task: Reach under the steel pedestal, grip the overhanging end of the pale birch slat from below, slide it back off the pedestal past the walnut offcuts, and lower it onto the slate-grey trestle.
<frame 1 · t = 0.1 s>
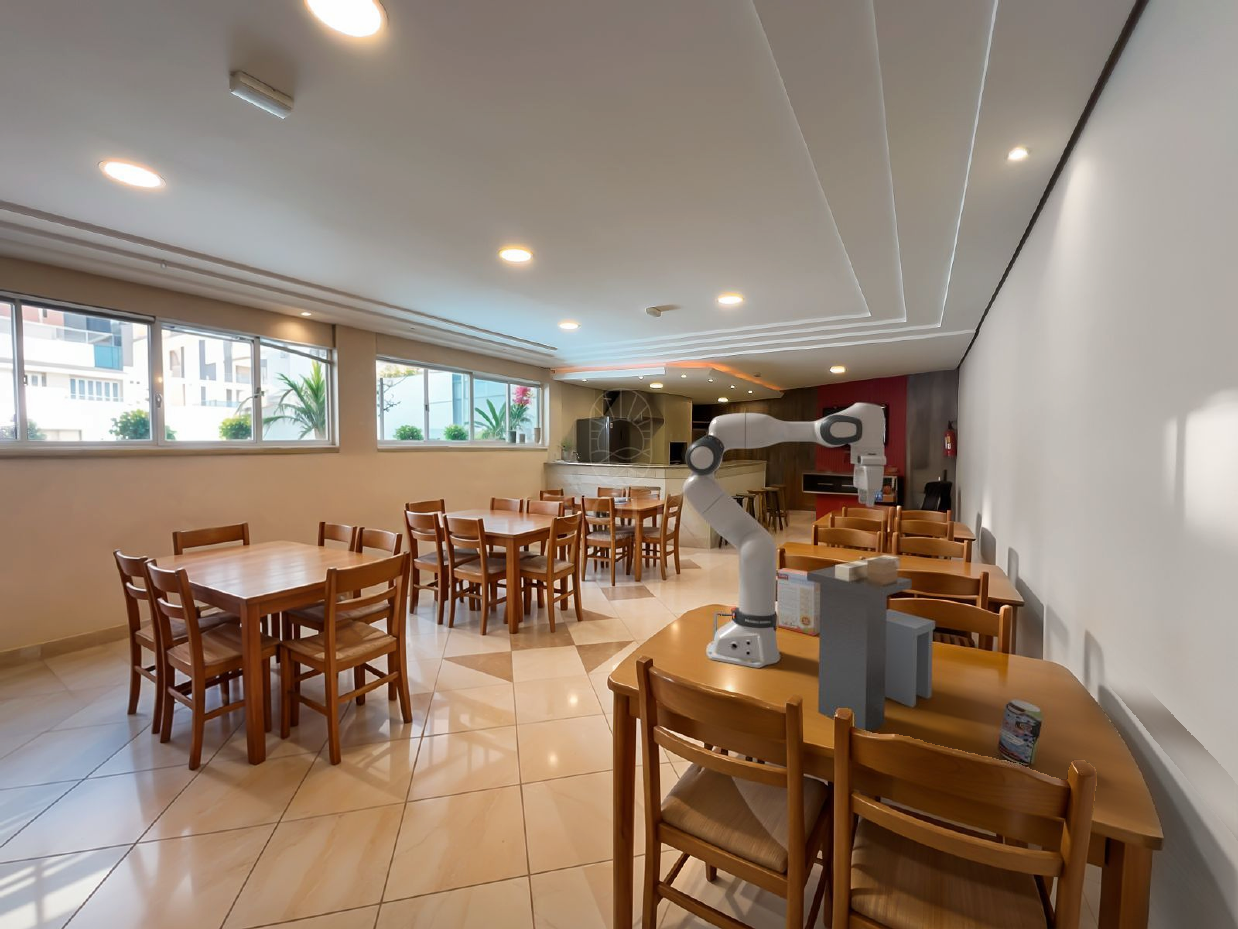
hand: (866, 505, 151), 48 cm above the table, tool pointing down, fingers open, 8 cm apart
beverage can: (1018, 761, 107), on the table
slate trestle: (899, 693, 136), on the table
clipboard: (740, 629, 185), on the table
cracker box: (798, 630, 183), on the table
steel pedestal: (855, 715, 124), on the table
birch slat: (868, 573, 126), point 34 cm above the table, touching steel pedestal
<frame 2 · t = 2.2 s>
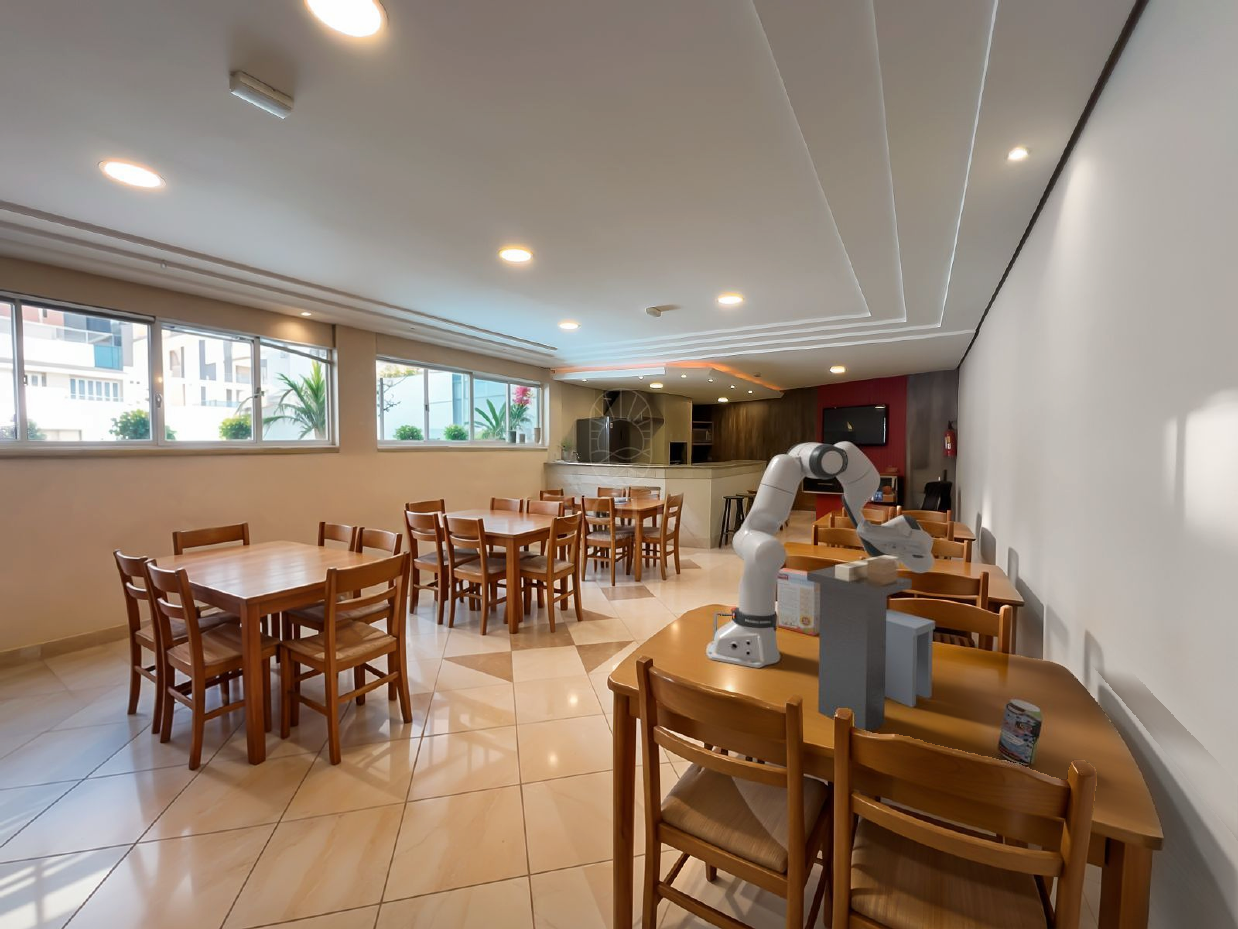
hand: (880, 524, 150), 42 cm above the table, tool pointing upward, fingers open, 8 cm apart
nothing on the table moved.
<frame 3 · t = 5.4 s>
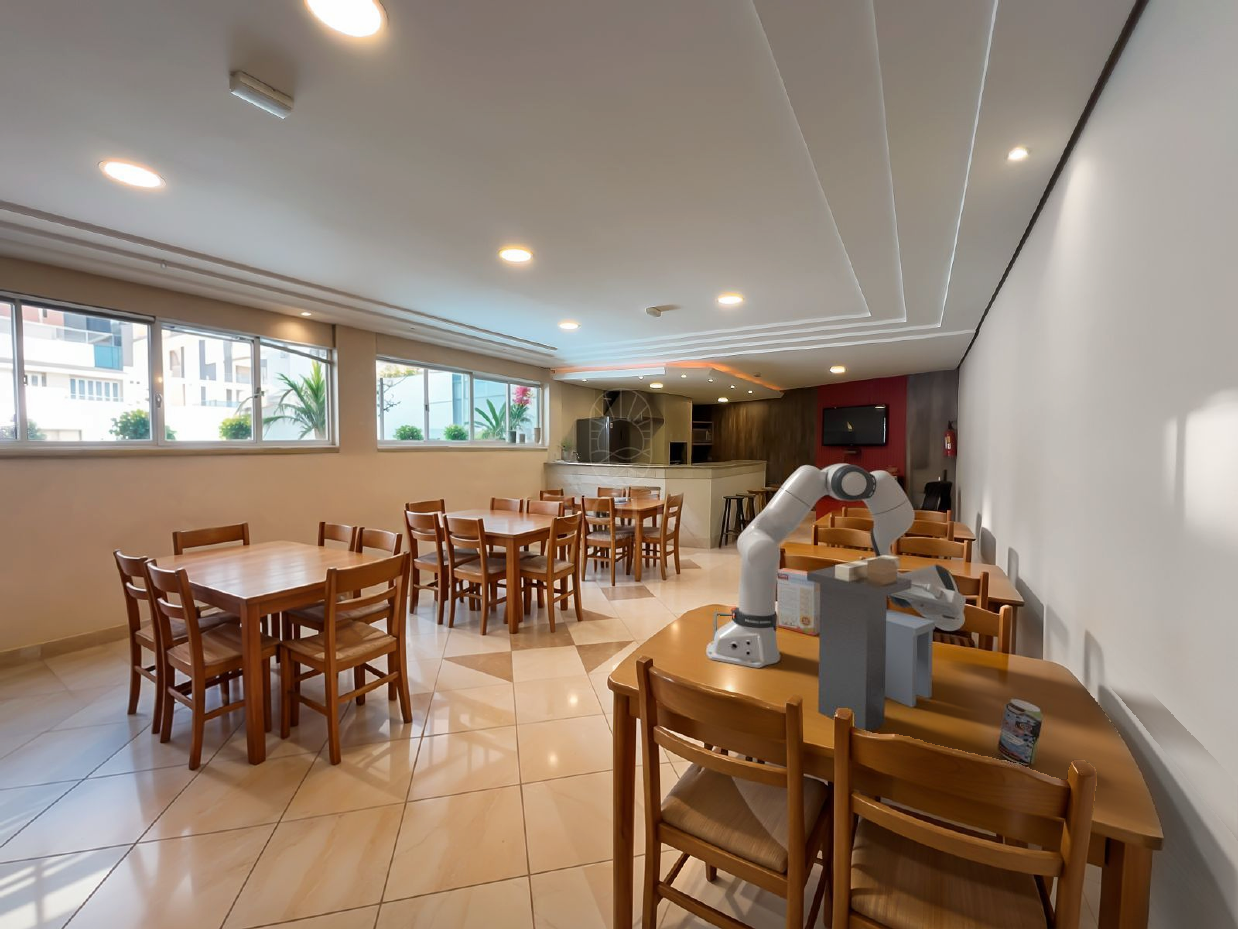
hand: (907, 582, 136), 29 cm above the table, tool pointing upward, fingers open, 8 cm apart
nothing on the table moved.
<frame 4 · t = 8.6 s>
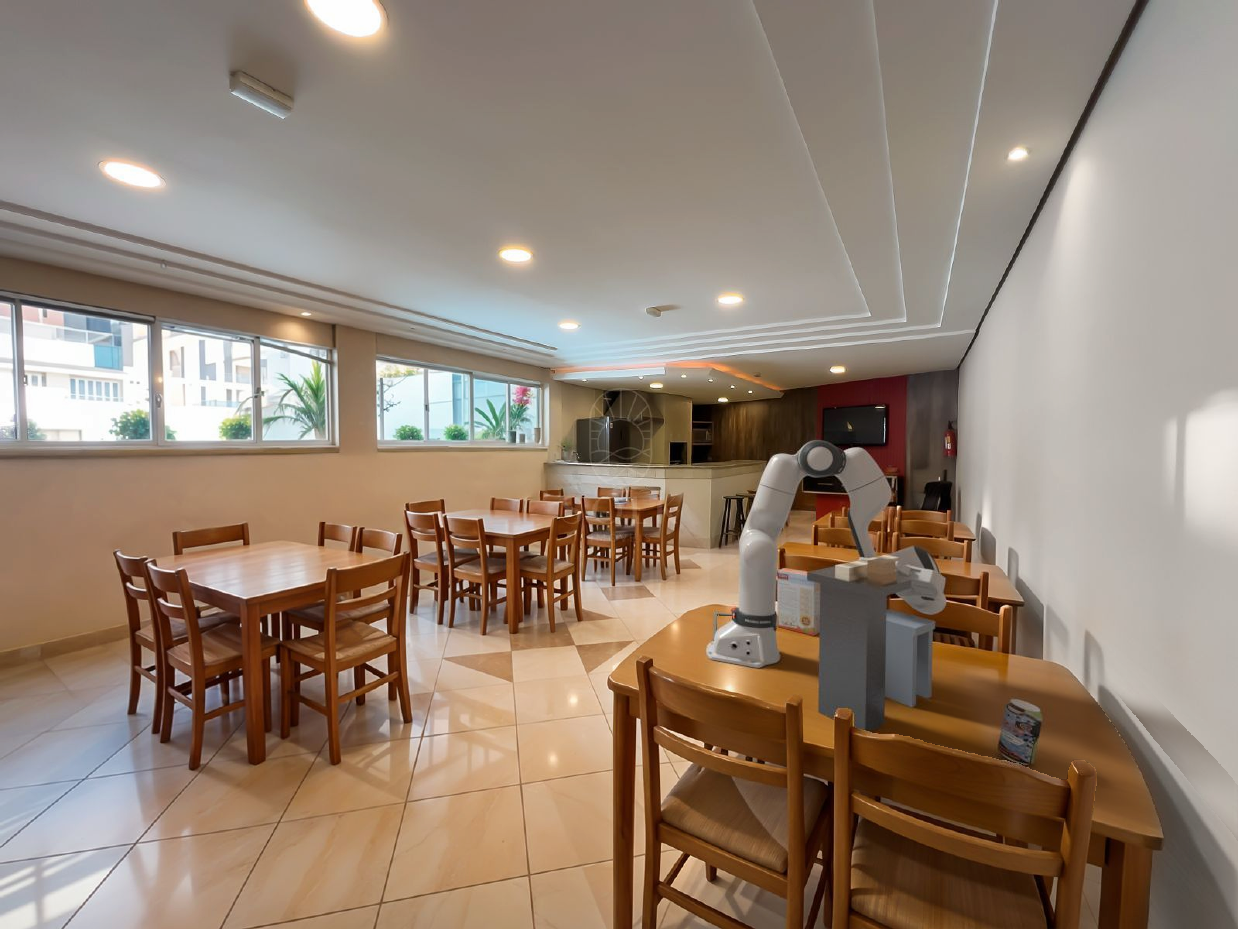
hand: (884, 561, 130), 36 cm above the table, tool pointing upward, fingers closed on birch slat, 3 cm apart
birch slat: (868, 573, 126), point 34 cm above the table, touching gripper, steel pedestal
everything else where it was.
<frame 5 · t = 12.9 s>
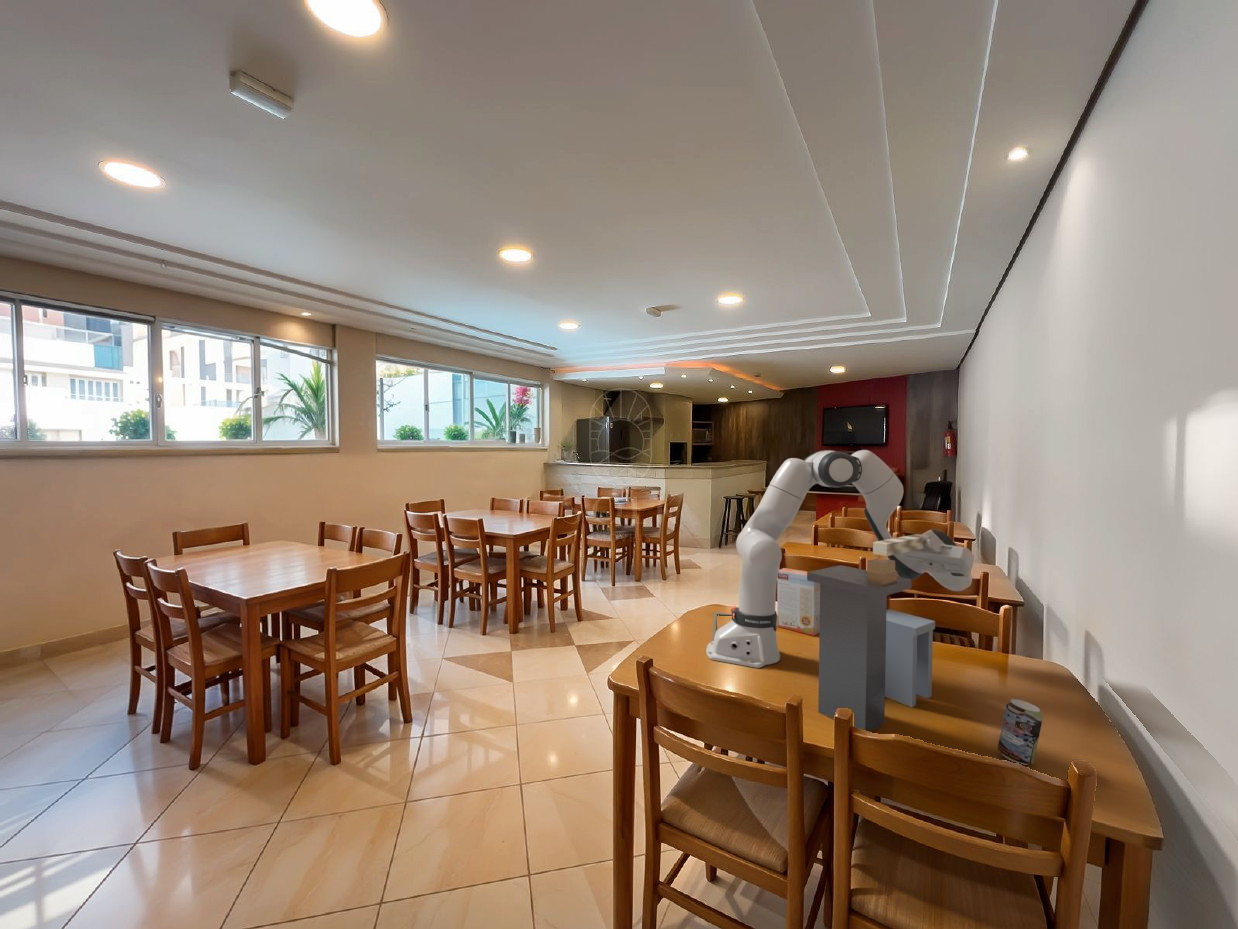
hand: (916, 540, 138), 40 cm above the table, tool pointing upward, fingers closed on birch slat, 3 cm apart
birch slat: (902, 550, 134), point 38 cm above the table, touching gripper
everything else where it was.
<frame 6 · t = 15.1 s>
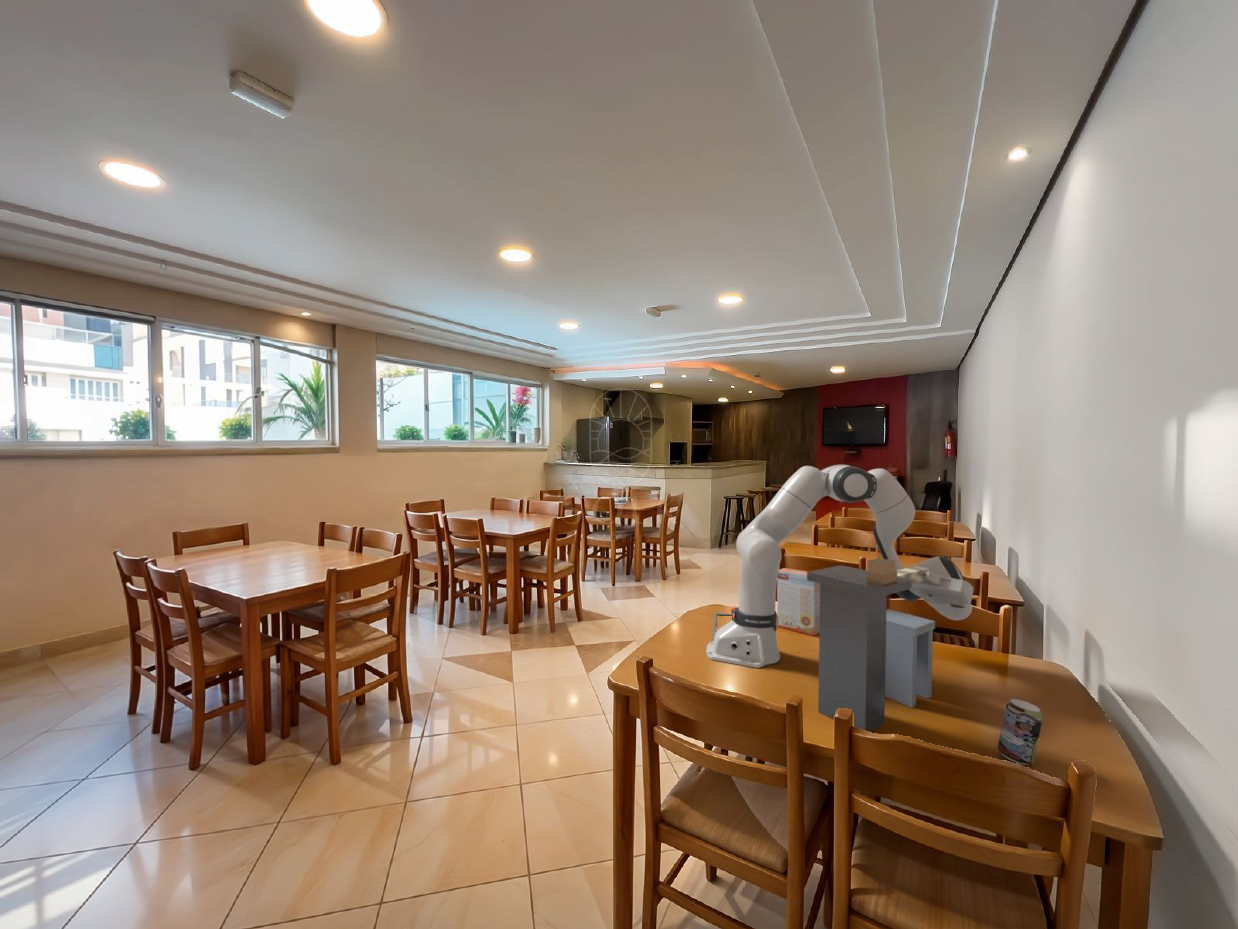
hand: (916, 572, 139), 31 cm above the table, tool pointing upward, fingers closed on birch slat, 3 cm apart
birch slat: (902, 583, 135), point 29 cm above the table, touching gripper
everything else where it was.
when the fingers open (24 cm above the table, at t = 17.1 s): birch slat drops 2 cm, resting on slate trestle.
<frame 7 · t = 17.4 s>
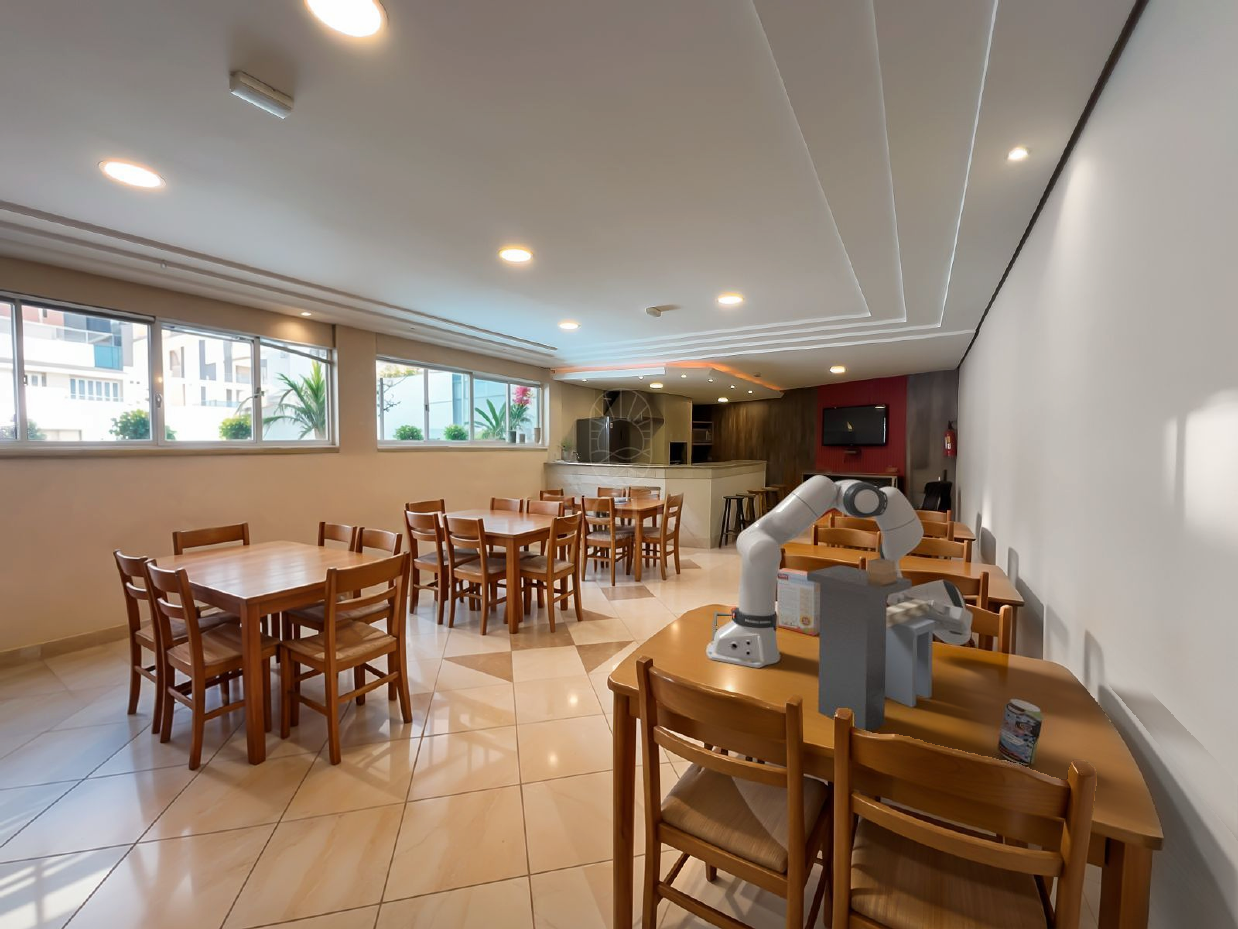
hand: (915, 598, 139), 24 cm above the table, tool pointing upward, fingers open, 6 cm apart
birch slat: (901, 618, 135), point 20 cm above the table, touching slate trestle
everything else where it was.
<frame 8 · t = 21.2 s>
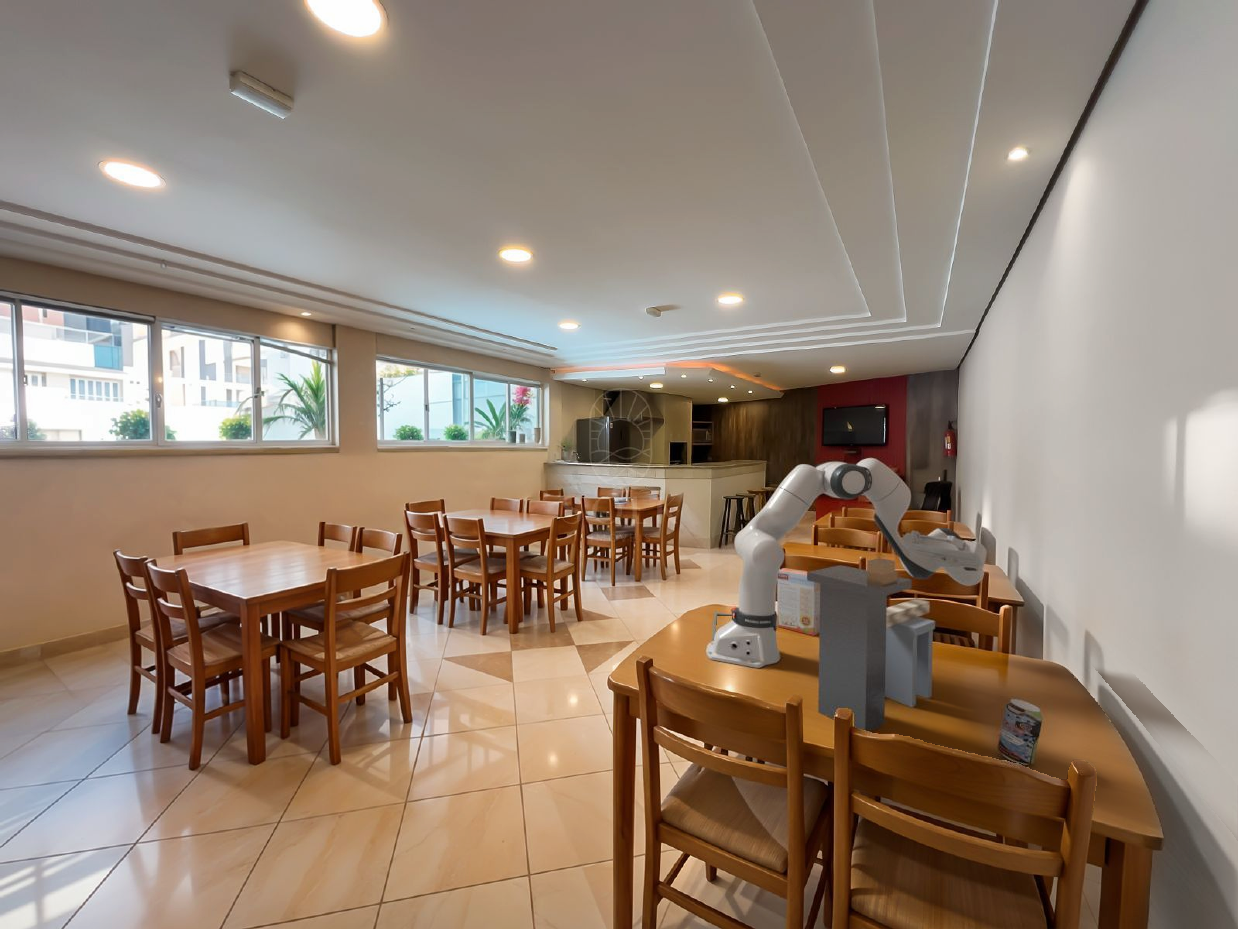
hand: (931, 535, 143), 40 cm above the table, tool pointing upward, fingers open, 8 cm apart
nothing on the table moved.
at the end: birch slat inside the target area on the slate trestle (0.1 cm from its centre), point 20.0 cm above the slate trestle's base; the gripper is holding nothing; birch slat tilted 0° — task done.
